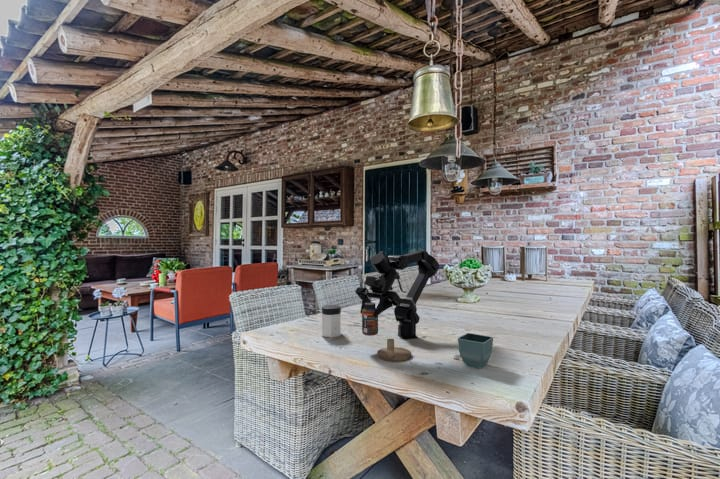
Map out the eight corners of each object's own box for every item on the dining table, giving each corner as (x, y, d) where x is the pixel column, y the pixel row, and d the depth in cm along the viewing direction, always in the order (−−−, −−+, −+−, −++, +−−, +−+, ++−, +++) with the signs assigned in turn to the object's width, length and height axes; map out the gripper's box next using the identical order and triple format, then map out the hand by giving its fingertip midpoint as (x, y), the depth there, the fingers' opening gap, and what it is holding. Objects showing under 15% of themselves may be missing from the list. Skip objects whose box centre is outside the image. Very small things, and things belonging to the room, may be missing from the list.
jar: (326, 338, 142) (326, 309, 142) (317, 334, 149) (317, 306, 149) (345, 335, 147) (345, 307, 147) (335, 331, 154) (335, 304, 154)
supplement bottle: (366, 337, 123) (366, 305, 123) (359, 333, 128) (358, 302, 128) (381, 334, 126) (380, 303, 126) (373, 330, 131) (372, 301, 131)
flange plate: (382, 348, 129) (382, 329, 129) (414, 351, 125) (414, 332, 125) (372, 359, 117) (372, 339, 117) (407, 363, 114) (407, 342, 114)
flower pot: (467, 358, 119) (467, 332, 118) (493, 364, 113) (493, 336, 113) (457, 365, 112) (457, 338, 112) (484, 372, 106) (484, 343, 106)
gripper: (357, 266, 136) (338, 298, 128) (396, 269, 123) (377, 305, 115) (371, 284, 142) (353, 315, 134) (409, 288, 129) (391, 323, 121)
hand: (367, 314), depth 126 cm, fingers closed on supplement bottle, 6 cm apart
